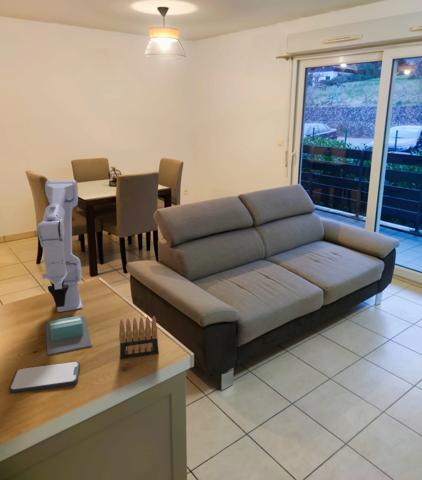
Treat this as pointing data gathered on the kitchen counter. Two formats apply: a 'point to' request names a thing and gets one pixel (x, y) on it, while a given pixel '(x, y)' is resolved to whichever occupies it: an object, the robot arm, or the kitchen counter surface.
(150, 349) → the ammunition clip
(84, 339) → the mat
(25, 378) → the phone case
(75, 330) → the card box
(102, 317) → the kitchen counter surface
